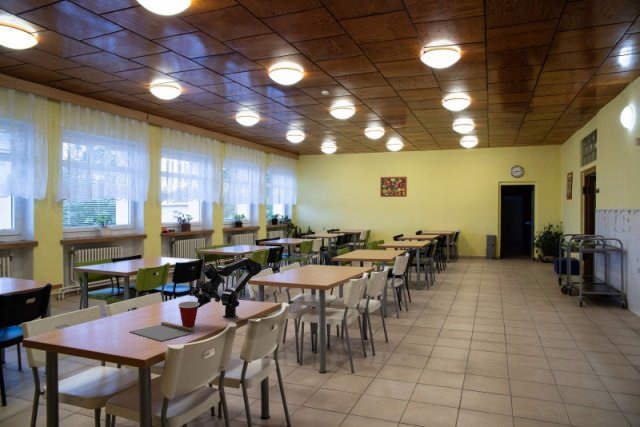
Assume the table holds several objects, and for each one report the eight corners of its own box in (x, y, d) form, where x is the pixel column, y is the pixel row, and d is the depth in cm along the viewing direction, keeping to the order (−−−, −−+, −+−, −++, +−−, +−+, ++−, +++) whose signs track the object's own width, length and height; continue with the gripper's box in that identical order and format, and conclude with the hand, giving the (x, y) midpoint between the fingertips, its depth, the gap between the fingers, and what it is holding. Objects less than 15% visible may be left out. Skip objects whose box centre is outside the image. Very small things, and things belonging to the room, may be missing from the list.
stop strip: (164, 325, 231) (164, 321, 231) (194, 332, 217) (194, 328, 217) (161, 325, 229) (161, 322, 229) (190, 333, 215) (190, 329, 215)
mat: (159, 325, 230) (159, 324, 230) (192, 333, 214) (192, 332, 214) (129, 332, 216) (129, 331, 216) (161, 341, 201) (161, 340, 201)
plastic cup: (177, 329, 222) (177, 305, 222) (178, 324, 232) (178, 301, 232) (199, 328, 225) (199, 304, 225) (199, 323, 235) (199, 300, 235)
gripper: (194, 273, 242) (176, 296, 233) (216, 276, 232) (199, 300, 222) (205, 286, 249) (188, 309, 240) (227, 290, 238) (211, 313, 229)
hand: (196, 308), depth 232 cm, fingers closed
